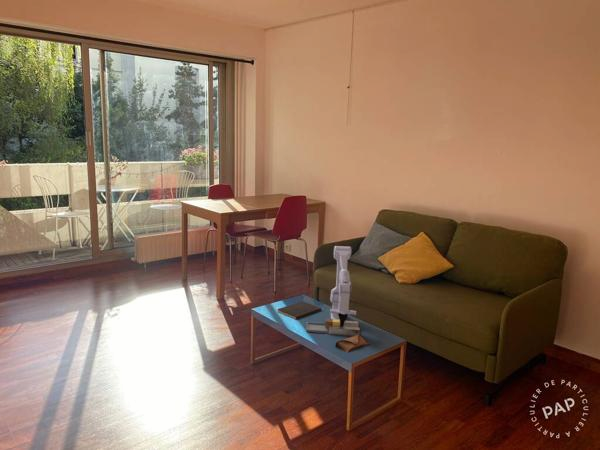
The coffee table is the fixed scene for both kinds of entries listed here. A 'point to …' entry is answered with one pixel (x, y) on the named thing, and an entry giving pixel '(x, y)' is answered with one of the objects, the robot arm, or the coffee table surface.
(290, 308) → the hardcover book
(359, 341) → the sunglasses case
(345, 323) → the channel
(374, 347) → the coffee table surface
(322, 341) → the coffee table surface
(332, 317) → the robot arm
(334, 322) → the mustard cube
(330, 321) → the walnut cube
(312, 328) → the tray
